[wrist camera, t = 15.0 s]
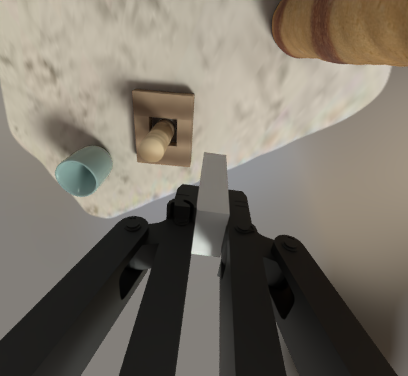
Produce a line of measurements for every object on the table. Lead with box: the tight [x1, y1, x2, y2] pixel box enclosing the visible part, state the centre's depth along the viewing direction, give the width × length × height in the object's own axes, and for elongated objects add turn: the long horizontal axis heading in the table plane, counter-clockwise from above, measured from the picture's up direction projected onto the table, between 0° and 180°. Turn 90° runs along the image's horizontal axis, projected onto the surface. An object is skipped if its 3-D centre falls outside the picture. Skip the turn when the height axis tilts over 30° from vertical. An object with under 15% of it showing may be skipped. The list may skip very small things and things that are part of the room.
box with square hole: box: [132, 89, 194, 167], centre depth 46 cm, size 14×11×2 cm
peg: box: [139, 119, 175, 162], centre depth 42 cm, size 4×4×12 cm
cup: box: [55, 145, 113, 197], centre depth 47 cm, size 8×8×10 cm
